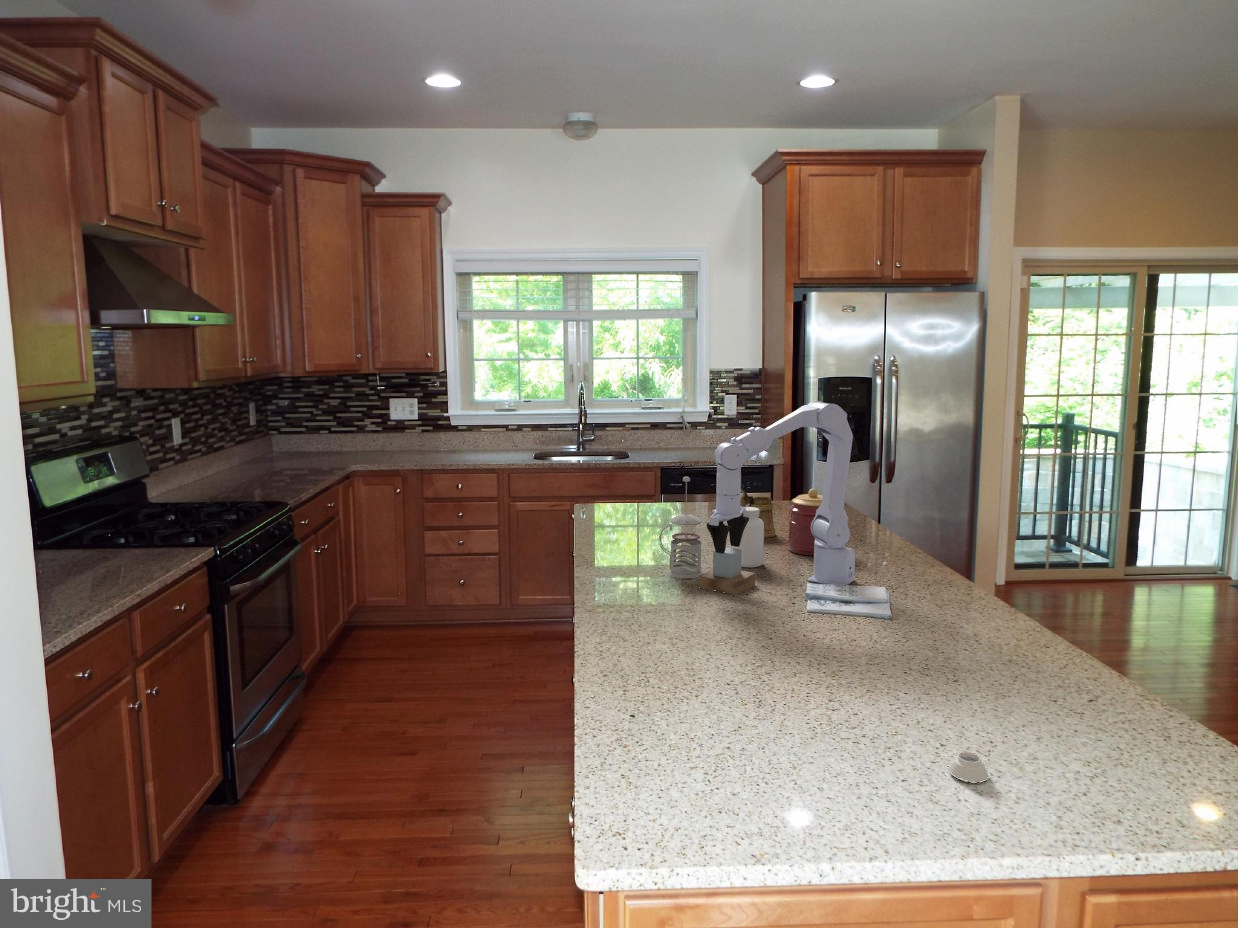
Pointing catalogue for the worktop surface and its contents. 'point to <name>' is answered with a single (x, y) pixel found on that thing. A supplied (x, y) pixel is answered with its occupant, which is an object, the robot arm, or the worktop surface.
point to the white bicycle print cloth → (848, 600)
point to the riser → (727, 582)
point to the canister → (803, 522)
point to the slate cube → (727, 563)
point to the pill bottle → (752, 540)
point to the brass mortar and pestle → (761, 511)
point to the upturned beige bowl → (969, 767)
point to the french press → (684, 547)
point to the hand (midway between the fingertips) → (727, 549)
